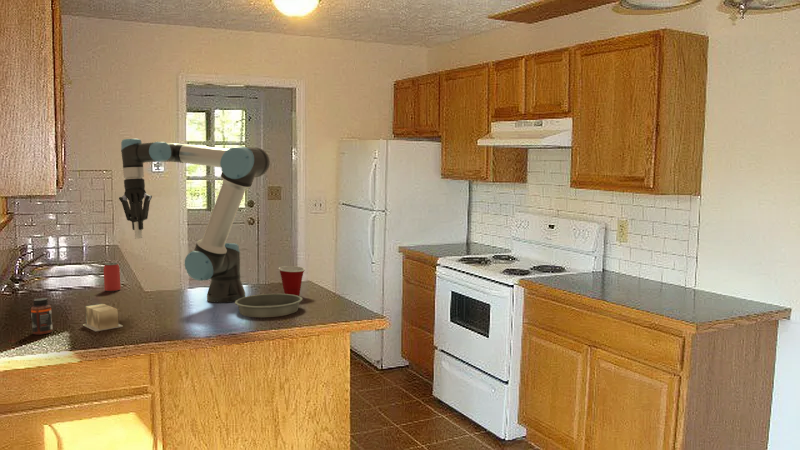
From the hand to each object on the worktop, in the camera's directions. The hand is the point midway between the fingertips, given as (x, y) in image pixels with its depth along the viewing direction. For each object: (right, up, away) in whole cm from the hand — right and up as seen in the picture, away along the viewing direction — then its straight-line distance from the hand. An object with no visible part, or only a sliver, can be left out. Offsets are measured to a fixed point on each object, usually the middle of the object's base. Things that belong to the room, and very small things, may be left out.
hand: (138, 238), depth 266 cm
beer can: (-24, -24, +31) cm, 46 cm away
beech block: (-3, -26, -31) cm, 41 cm away
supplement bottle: (-15, -31, -44) cm, 56 cm away
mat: (+2, -29, -36) cm, 46 cm away
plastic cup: (+59, -24, +11) cm, 65 cm away
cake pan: (+55, -27, -16) cm, 63 cm away
